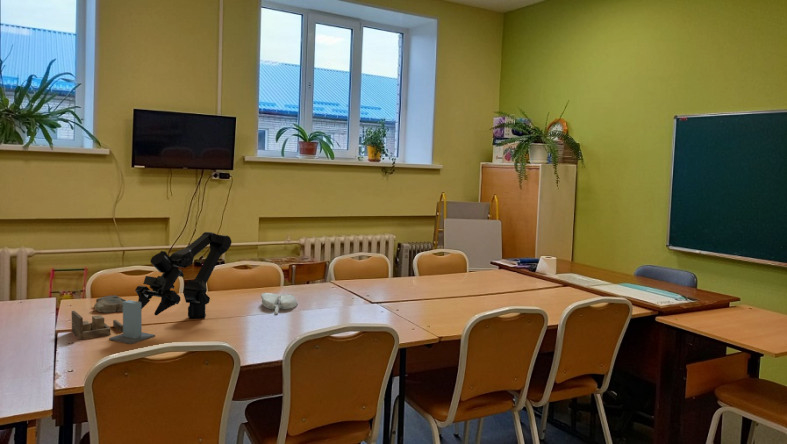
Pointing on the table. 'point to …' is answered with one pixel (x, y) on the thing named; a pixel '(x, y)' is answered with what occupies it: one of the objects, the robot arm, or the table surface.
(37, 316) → the table surface
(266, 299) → the lung model
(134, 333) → the pale blue wedge-ended prism
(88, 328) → the offcut short
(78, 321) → the rack
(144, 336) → the mat
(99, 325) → the offcut tall
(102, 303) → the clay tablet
